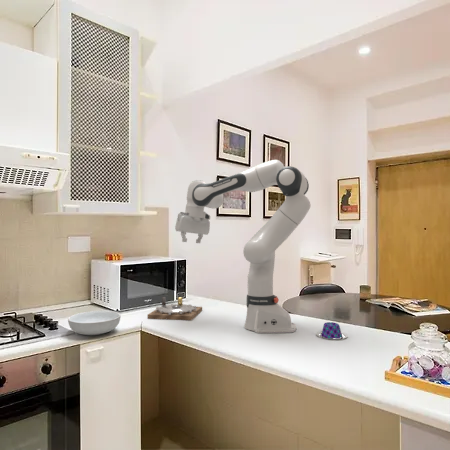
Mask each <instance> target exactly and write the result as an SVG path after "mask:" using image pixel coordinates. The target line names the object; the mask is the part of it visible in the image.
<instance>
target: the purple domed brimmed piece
mask: <svg viewBox="0 0 450 450" xmlns="http://www.w3.org/2000/svg"><path fill="white" fill-rule="evenodd" d="M321 333H322V334H321ZM319 334H321V337H320V336H319ZM342 334H343V335H344V336H345V338H343V339H346V338H348V335H347V334H346V333H344V332H342V330H341V326H340V324H339V323H337V322H334V321H333V322H330V321H328V322H324V323H323V326H322V330H321V331H318V332H316V333H315V335H316V336H317V337H319V338H322V336H323V338H324V337H325V338H324V339H326V340H327V339H330V338H340V337H342ZM323 338H322V339H323ZM340 339H341V338H340ZM343 339H342V340H343ZM334 340H336V341H337V339H334Z"/></svg>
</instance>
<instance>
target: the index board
mask: <svg viewBox="0 0 450 450" xmlns="http://www.w3.org/2000/svg"><path fill="white" fill-rule="evenodd" d="M166 298H167V297H166V296H162V297H161V306H162V305H167V303H166V302H167V301H166V300H167V299H166ZM202 311H203V306H196V311H192V313H183V314H171V315H169V314H164V313H163V314H160V312H155V310H153V311H151V312H149V313H148V314H147V319H148V320H149V319H150V320H168V321H169V320H171V321H193V320H194V319H195V318H196V317H197V316H198V315H199V314H200V313H201V312H202Z"/></svg>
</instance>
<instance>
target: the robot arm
mask: <svg viewBox="0 0 450 450" xmlns="http://www.w3.org/2000/svg"><path fill="white" fill-rule="evenodd" d="M309 184H310V183H309V180H308V179H307V177H306V176H305V174H304V173H303V172H302V171H300V170H299V169H298V168H297V167H294V166H290V165H289V166H288V165H287V166H285V165H284V163H283V162H281V160H279V159H271V160H268V161H264V162H261V163H259V164H256V165H254V166H252V167H250V168H248V169H246V170H245V169H244V171H241V172H238V173H235V174H233V175H230V176H226V177H223V178H222V179H219V180H216V181H214V182H211V183H206V182H205V181H204V180H197V179H196V180H193V181H191V182H189V184H188V187H187V191H186V192H187V193H186V205H185V211H180V212H179V213H177V218H176V221H175V222H176V223H175V226H174V227H175V231H176V232H180V235H181V242H182V243H187V241H188V238H187V237H186V235H187V233H190V234H196V235H197V236H198V238H197V239H196V240H195V243H196V244H201V243H202V241H201V240H202V239H203V237H204V235H205V236H206V235H207V236H208V235H209V233H210V228H211V227H210V225H211V224H210V223H211V222H210V220H211V215H210V214H208V212H206V211H205V208H208V209H213V210H214V209H218V208H220V207H221V206H223V203H224V200H225V197H224V194H227V193H229V192H236V191H242V192H247V193H255V192H260V191H262V190H265V189H267V188H269V187H273V186H277V187H278V188H279V190H280V192H281V193H282V194H283V196H285V200H284V201H283V203H282V204H281V205H280V206H279V207H278V209H277V210H276V211H275V212H274V214H272V216H271V217H269V219H268V221H267V222H266V223H265V224H264V225H263V226H262V227H261V228H260V229H259V230H258V231H257V232H256V233H255V234H254V235H253V236H252V237H251V238H250V239H249V240H247V242H246V243H245V245H244V247H243V253H242V254H243V257H244V259H245V260H246V261H248V263H249V268H248V274H247V294H246V310H247V311H246V317H245V323H244V325H243V328H245V330H248V331H252V332H255V333H256V334H257V333H258V334H269V333H270V334H271V333H272V334H273V333H275V334H277V333H280V334H281V333H294V332H296V331H297V325H296V323H294V322H292V317H291V315H290V313H289V311H287V310H286V309H284V307H282V306H281V305H280V304H278V303H279V297H278V296H276V295H274V272H275V270H274V269H275V260H276V259H275V257H276V251H277V249H278V248H279V247H280V246H282V244H283V243H284V242H285V241H286V240H287V239H288V238H289V237H290V236H291V234H293V232H294V231H296V228H298V226H299V225H300V224H301V222H302V221H303V220H304V219H305V217H306V215H307V214H308V212H309V210H310V208H311V201H310V199H309V198H308V197H307V196H306V194H307V192H308V191H309V188H310V187H309Z"/></svg>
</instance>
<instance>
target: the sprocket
mask: <svg viewBox="0 0 450 450" xmlns="http://www.w3.org/2000/svg"><path fill="white" fill-rule="evenodd" d="M196 307H197V305H192V304H184V303H183V296H178V297H177V303H175V304H174V303H170V304H166V305H162V304H161V306H156V307H155V312H160V314H163V313H164V314H169V315H171V314H183V313H192V311H196Z"/></svg>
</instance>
